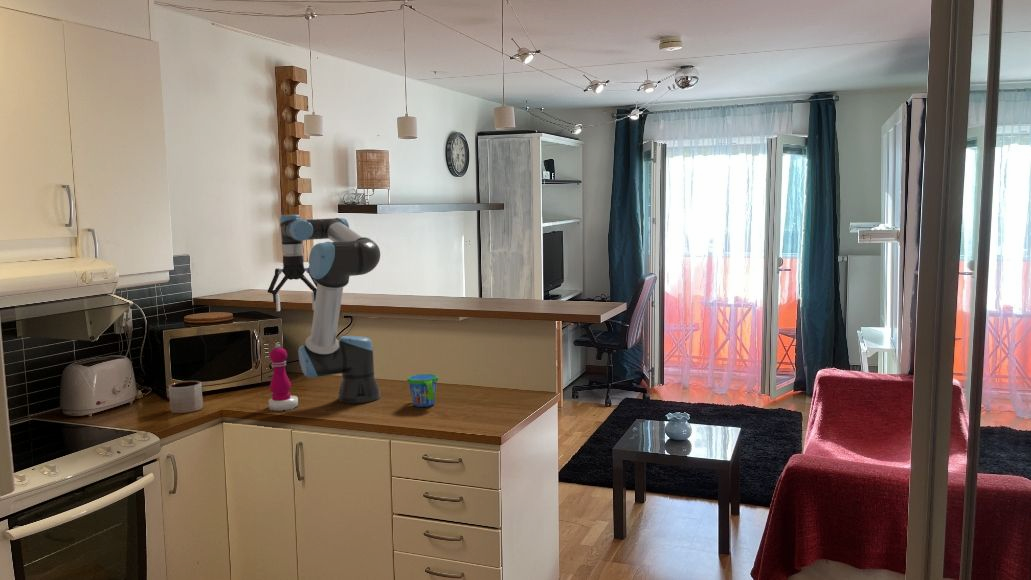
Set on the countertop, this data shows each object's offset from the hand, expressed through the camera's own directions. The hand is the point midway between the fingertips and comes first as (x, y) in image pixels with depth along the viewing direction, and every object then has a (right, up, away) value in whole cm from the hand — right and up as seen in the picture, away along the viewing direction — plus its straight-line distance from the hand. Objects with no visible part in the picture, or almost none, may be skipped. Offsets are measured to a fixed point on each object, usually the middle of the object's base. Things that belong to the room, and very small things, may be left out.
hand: (296, 310), depth 299 cm
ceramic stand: (+1, -34, -21) cm, 40 cm away
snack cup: (+52, -33, -24) cm, 66 cm away
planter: (-34, -36, -20) cm, 53 cm away
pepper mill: (0, -31, -21) cm, 37 cm away
